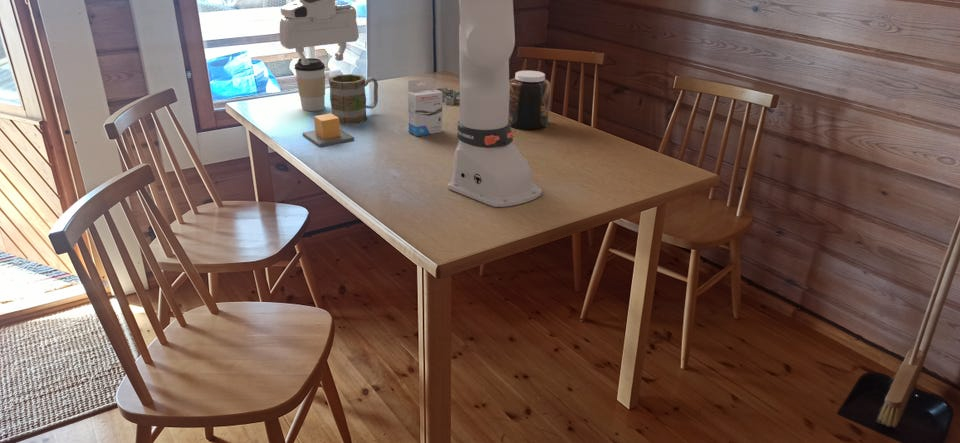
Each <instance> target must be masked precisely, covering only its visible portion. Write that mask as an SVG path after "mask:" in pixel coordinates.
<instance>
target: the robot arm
mask: <svg viewBox="0 0 960 443" xmlns="http://www.w3.org/2000/svg"><path fill="white" fill-rule="evenodd" d="M513 1H514V0H458V8H459V19H460V20H459V21H460V23H459V26H458V28H459V29H458V33H459V34H458V45H459V46H458V50H459V51H458V52H459V54H458V55H459V60H458V63H459V91H460V103H459V120H458V122H457V127H456V133H457V135H456V136H457V139H458V143H457V146H456V149H455V150H454V154H453V162H452V172H451V174H452V175H451V180H449V182H448V184H447V189H448V190H451V191H454V192H455V193H459V194H460V195H463V196H466V197H468V198H471V199H473V200H476V201H479V202H481V203H484V204H486V205H488V206H491V207H494V208H499V207H500V208H504V207H511V206H516V205H521V204H524V203H527V202H530V201H533V200H535V199H537V198H538V197H541V195H542V194H543V191H542V188H540V187H539V186H538V185H537V184H535V183H534V182H532V169H531V167H530V163H529V160H528V159H527V158H525V157H523V155H522V154H521V152H520V151H519V149H518V147H517V146H516V145H515V143H514V138H515V137H516V135H515V134H516V133H517V132H516V131H512V127H510V123H509V122H508V118H509V94H510V86H509V82H510V69H509V67H510V66H509V65H510V64H509V62H510V61H509V59H510V58H511V56H512V54H513V51H514V49H515V44H516V37H515V31H516V30H515V17H514V2H513ZM280 13H281V16H283V17H282V18H281V19H280V22H279V41H280V44H281V45H282V46H283V47H284V48H285V49H287V50H293V49H295V52H296V54H297V55H298V57H299V58H301V63H302V65H309V58H310V57H308V56H305V54H304V52H305V48H309V47H317V46H327V45H336V44H337V45H338V47H339V48H338V50H337V52H335V53H334V56H335V58H334V59H335V60H336V61H339V62H340V61H344V53H345V51H346V50H347V43H354V42H357V41H358V39H359V37H360V36H359V35H360V34H359V28H358V22H357V9H356V8H355V7H354V6H352V4H345V5H340V4H339V5H336V0H293V1H292V2H290V3H288V4H285V5H283V6H281V8H280Z"/></svg>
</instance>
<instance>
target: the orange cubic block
mask: <svg viewBox="0 0 960 443" xmlns="http://www.w3.org/2000/svg"><path fill="white" fill-rule="evenodd" d="M313 117H314V119H313V121H314V131H315V132H316V135H318V136H319V137H321V138H323V139H326V138H331V137H337V136H340V129H341V125H340V124H341V123H340V122H339V118H338V117H337V116H335V115H333V114H332V113H325V114H319V115H314V116H313Z"/></svg>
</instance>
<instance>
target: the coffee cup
mask: <svg viewBox="0 0 960 443" xmlns="http://www.w3.org/2000/svg"><path fill="white" fill-rule="evenodd" d="M308 58H309V65H302V63H301V57H299V58H298V60H297V63H295V64H294V70H295V75H296V76H295V78H296V83H297V89H298V93H299V94H298V95H299V98H300V99H299V100H300V103H301V109H302V111H306V112H316V111H322V110H324V109H325V106H326V105H325V97H326V96H325V95H326V74H325V69H326V66H325V63H324V62H322V60H321V59H319V58H314V57H313V58H312V57H308Z"/></svg>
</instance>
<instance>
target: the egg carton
mask: <svg viewBox="0 0 960 443" xmlns="http://www.w3.org/2000/svg"><path fill="white" fill-rule="evenodd" d="M434 88H435V87H434ZM435 89H437V90H439V91H442V103H444V105H450V106H453V105H455V104H460V90H456V89H453V88H452V87H449V88H447V86H446V87H439V88H437V87H436V88H435Z"/></svg>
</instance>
